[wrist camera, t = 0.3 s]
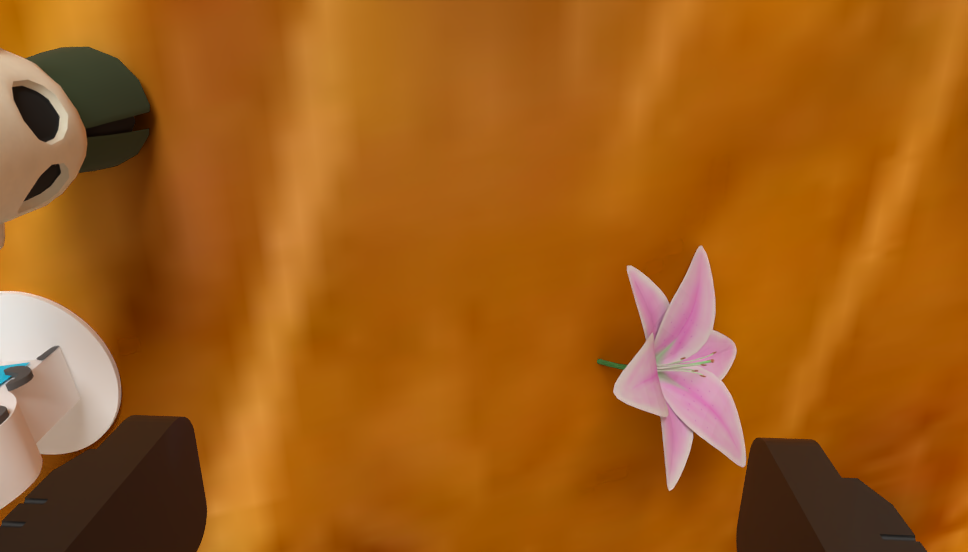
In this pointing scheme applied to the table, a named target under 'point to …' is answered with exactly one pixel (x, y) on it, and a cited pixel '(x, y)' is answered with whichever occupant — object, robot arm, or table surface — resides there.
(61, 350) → the white stand
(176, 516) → the robot arm
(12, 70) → the character mug
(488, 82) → the table surface
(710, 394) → the lily
